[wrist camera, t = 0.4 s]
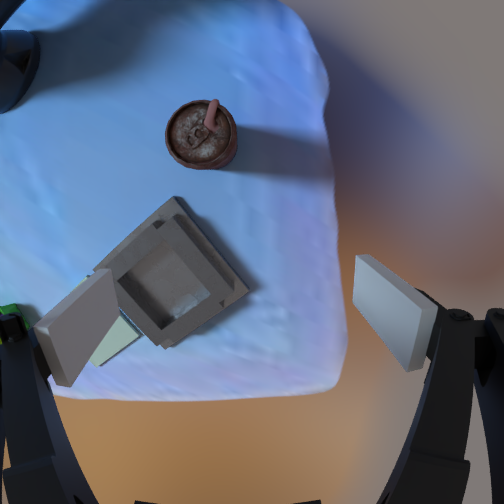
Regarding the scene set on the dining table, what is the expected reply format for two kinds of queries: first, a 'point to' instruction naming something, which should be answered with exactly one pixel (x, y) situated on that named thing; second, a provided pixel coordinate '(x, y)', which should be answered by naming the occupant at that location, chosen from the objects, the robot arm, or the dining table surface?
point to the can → (202, 135)
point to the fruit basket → (9, 309)
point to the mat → (113, 339)
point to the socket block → (171, 276)
